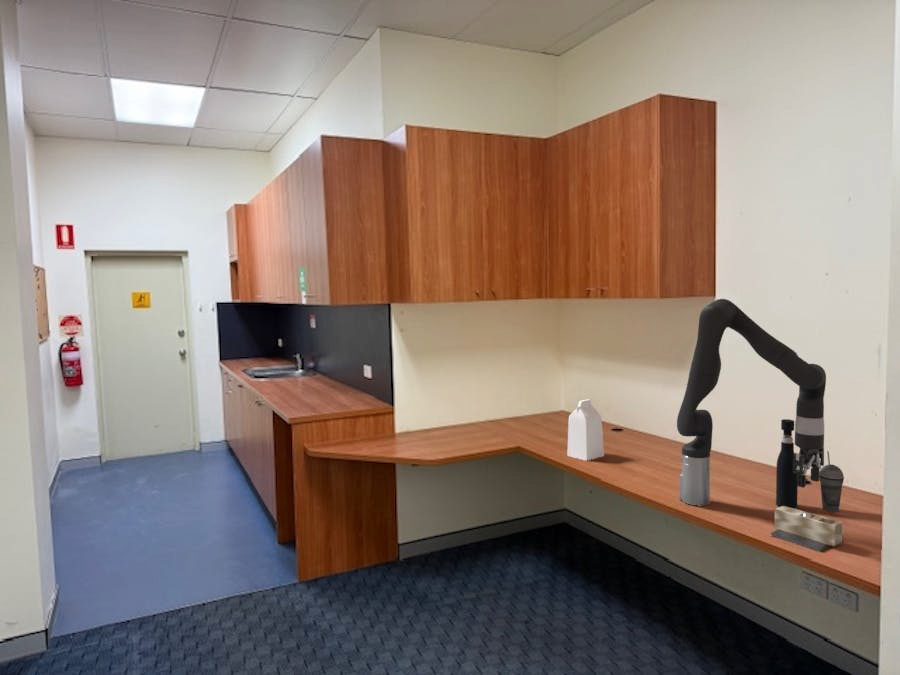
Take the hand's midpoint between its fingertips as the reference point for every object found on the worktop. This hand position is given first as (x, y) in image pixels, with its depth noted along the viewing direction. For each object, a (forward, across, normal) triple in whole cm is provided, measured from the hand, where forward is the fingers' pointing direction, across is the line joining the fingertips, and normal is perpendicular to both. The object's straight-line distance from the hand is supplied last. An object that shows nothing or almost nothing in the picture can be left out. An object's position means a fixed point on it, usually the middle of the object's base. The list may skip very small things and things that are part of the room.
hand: (808, 483), depth 179 cm
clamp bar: (+16, -1, 0) cm, 16 cm away
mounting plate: (+17, -1, 0) cm, 17 cm away
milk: (+18, +16, +104) cm, 106 cm away
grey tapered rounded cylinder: (+17, +28, +6) cm, 34 cm away
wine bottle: (+17, +22, +17) cm, 32 cm away
